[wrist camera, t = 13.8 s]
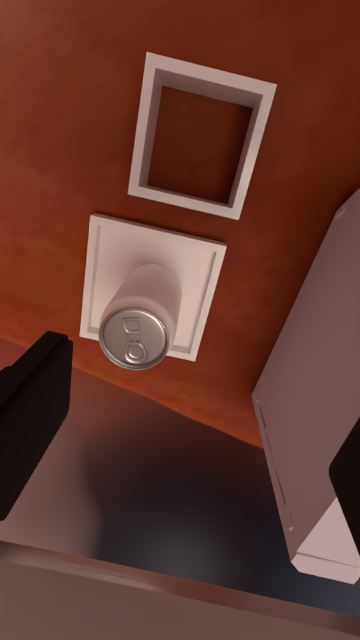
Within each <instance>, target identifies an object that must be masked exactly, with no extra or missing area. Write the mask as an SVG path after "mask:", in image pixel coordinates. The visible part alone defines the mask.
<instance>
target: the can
mask: <svg viewBox="0 0 360 640" xmlns="http://www.w3.org/2000/svg"><path fill="white" fill-rule="evenodd" d="M181 298H182V288H181V284H180V282H179V280H178V278H177V276H176V275H175V274H174V273H173V272H172V271H171V270H170V269H168V268H166V267H164V266H162V265H158V264H146V265H143V266H140V267H138V268H137V269H135V270H134V271H133V272H132V273H131V274H130V275H129V276H128V278H127V279H126V280H125V282H124V283H123V284H122V286H121V287H120V288H119V290H118V291H117V293H116V294H115V295H114V297H113V298H112V300H111V301H110V302H109V304H108V305H107V307H106V308H105V310H104V312H103V314H102V316H101V319H100V324H99V343H100V346H101V349H102V351H103V352H104V354H105V355H106V356H107V357H108V359H110V360H111V361H112V362H113V363H115V364H116V365H118V366H120V367H122V368H125V369H129V370H144V369H148V368H151V367H153V366H155V365H157V364H158V363H159V362H160V361H161V360H162V359H163V358H164V357H165V355H166V354H167V353H168V352H169V351H170V349H171V347H172V345H173V343H174V340H175V336H176V331H177V325H178V318H179V312H180V305H181Z"/></svg>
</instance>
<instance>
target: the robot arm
mask: <svg viewBox="0 0 360 640" xmlns="http://www.w3.org/2000/svg"><path fill="white" fill-rule="evenodd" d="M72 354H73V342H72V341H70V340H68V336H67V335H65V334H61V333H56V332H52V331H47V332H46V333H45V334H44V335H43V336H42V337H41V338H40V339H39V340H38V341H37V342H36V343H35V344H33V345H32V346H31V347H30V348H29V349H28V350H27V351H26V352H25V353H24V354H23V355H22V356H21V357H20V358H19V359H18V360H17V361H16V362H15V363H14V364H13V365H12V366H8V367H5V368H4V369H2V370H1V371H0V520H1V521H3V520H4V519H5V518H6V517H7V515H8V514H9V512H10V510H11V509H12V507H13V505H14V504H15V502H16V500H17V499H18V497H19V495H20V494H21V492H22V490H23V489H24V487H25V485H26V484H27V482H28V480H29V478H30V477H31V475H32V473H33V472H34V470H35V468H36V467H37V465H38V463H39V462H40V460H41V458H42V456H43V455H44V453H45V451H46V450H47V448H48V446H49V445H50V443H51V441H52V440H53V438H54V436H55V435H56V433H57V431H58V429H59V428H60V426H61V424H62V423H63V421H64V419H65V417H66V416H67V413H68V410H69V402H70V386H71V370H72ZM329 478H330V480H331V483H332V485H333V488H334V491H335V493H336V496H337V499H338V501H339V504H340V506H341V509H342V512H343V514H344V517H345V519H346V522H347V525H348V527H349V530H350V533H351V535H352V538H353V540H354V543H355V546H356V548H357V551H358V553H359V556H360V417H359V418H358V420H357V422H356V423H355V425H354V426H353V428H352V430H351V431H350V433H349V435H348V436H347V438H346V439H345V441H344V443H343V444H342V446H341V447H340V449H339V451H338V452H337V454H336V456H335V457H334V459H333V460H332V462H331V464H330V466H329ZM0 640H360V618H357V617H353V616H348V615H344V614H340V613H335V612H330V611H326V610H322V609H318V608H313V607H309V606H304V605H300V604H295V603H291V602H286V601H282V600H277V599H273V598H269V597H264V596H260V595H255V594H250V593H246V592H241V591H237V590H232V589H228V588H223V587H218V586H214V585H210V584H205V583H200V582H196V581H192V580H187V579H183V578H178V577H173V576H169V575H164V574H159V573H155V572H150V571H146V570H141V569H137V568H132V567H127V566H122V565H118V564H113V563H109V562H104V561H100V560H95V559H90V558H86V557H81V556H76V555H71V554H66V553H61V552H56V551H51V550H46V549H41V548H35V547H31V546H25V545H20V544H15V543H10V542H5V541H0Z"/></svg>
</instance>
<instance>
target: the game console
mask: <svg viewBox="0 0 360 640" xmlns="http://www.w3.org/2000/svg"><path fill="white" fill-rule="evenodd" d="M251 396H252V400H253V404H254V409H255V413H256V417H257V421H258V425H259V430H260V434H261V438H262V442H263V446H264V451H265V454H266V459H267V463H268V467H269V472H270V476H271V480H272V484H273V488H274V493H275V497H276V501H277V505H278V509H279V513H280V518H281V522H282V526H283V530H284V534H285V539H286V543H287V547H288V551H289V555H290V560H291V563H292V564H293V565H294V566H295V567H296V568H297V570H298V571H299V572H303V573H308V574H312V575H316V576H320V577H325V578H329V579H334V580H338V581H342V582H347V583H351V584H354V583H355V582H356V581H357V580H358V578H359V577H360V556H359V553H358V551H357V548H356V546H355V543H354V540H353V538H352V535H351V533H350V530H349V527H348V525H347V522H346V519H345V517H344V514H343V512H342V509H341V506H340V504H339V501H338V499H337V496H336V493H335V491H334V488H333V485H332V483H331V480H330V478H329V466H330V464H331V462H332V460H333V459H334V457H335V456H336V454H337V452H338V451H339V449H340V447H341V446H342V444H343V443H344V441H345V439H346V438H347V436H348V435H349V433H350V431H351V430H352V428H353V426H354V425H355V423H356V422H357V420H358V418H359V417H360V189H358V190H357V191H356V192H355V193H354V194H353V195H352V196H351V197H350V198H349V199H348V200H347V201H346V202H345V203H344V204H343V205H342V206H341V207H340V208H339V209H338V210H337V212H336V214H335V216H334V218H333V220H332V222H331V224H330V227H329V229H328V231H327V233H326V235H325V237H324V240H323V242H322V244H321V246H320V248H319V250H318V253H317V255H316V257H315V259H314V261H313V263H312V265H311V268H310V270H309V272H308V274H307V276H306V278H305V281H304V283H303V285H302V287H301V289H300V291H299V294H298V296H297V298H296V300H295V302H294V304H293V306H292V309H291V311H290V313H289V315H288V317H287V319H286V322H285V324H284V326H283V328H282V330H281V332H280V335H279V337H278V339H277V341H276V343H275V345H274V347H273V350H272V352H271V354H270V356H269V358H268V360H267V363H266V365H265V367H264V369H263V371H262V373H261V376H260V378H259V380H258V382H257V384H256V386H255V388H254V391H253V393H252V395H251Z"/></svg>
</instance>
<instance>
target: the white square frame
mask: <svg viewBox="0 0 360 640" xmlns="http://www.w3.org/2000/svg"><path fill="white" fill-rule="evenodd" d="M162 86H166V87H170V88H174V89H178V90H182V91H186V92H190V93H194V94H198V95H202V96H206V97H210V98H214V99H218V100H222V101H226V102H230V103H235V104H239V105H243V106H247V107H251V108H253V110H252V114H251V118H250V122H249V126H248V129H247V133H246V137H245V141H244V145H243V148H242V152H241V156H240V160H239V164H238V167H237V171H236V175H235V179H234V182H233V186H232V190H231V194H230V198H229V201H228V204H224V203H220V202H216V201H212V200H207V199H203V198H199V197H195V196H190V195H186V194H182V193H178V192H173V191H169V190H165V189H161V188H156V187H152V186H148V185H147V182H148V176H149V169H150V163H151V157H152V150H153V144H154V137H155V131H156V125H157V118H158V112H159V105H160V99H161V93H162ZM276 86H277V84H273V83H269V82H265V81H261V80H257V79H253V78H249V77H245V76H241V75H237V74H233V73H229V72H225V71H221V70H217V69H213V68H209V67H205V66H201V65H197V64H193V63H189V62H185V61H181V60H177V59H173V58H169V57H165V56H161V55H157V54H153V53H149V52H147V54H146V61H145V69H144V76H143V84H142V91H141V98H140V106H139V113H138V121H137V128H136V136H135V143H134V151H133V158H132V166H131V173H130V181H129V188H128V194H130V195H134V196H138V197H142V198H147V199H151V200H155V201H159V202H164V203H168V204H172V205H177V206H181V207H185V208H189V209H194V210H198V211H202V212H206V213H211V214H215V215H219V216H224V217H228V218H232V219H236V220H239V217H240V214H241V210H242V206H243V203H244V199H245V196H246V192H247V189H248V185H249V182H250V178H251V175H252V171H253V168H254V164H255V161H256V157H257V154H258V150H259V146H260V143H261V139H262V136H263V132H264V129H265V125H266V122H267V118H268V115H269V111H270V108H271V104H272V101H273V97H274V94H275V90H276Z"/></svg>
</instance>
